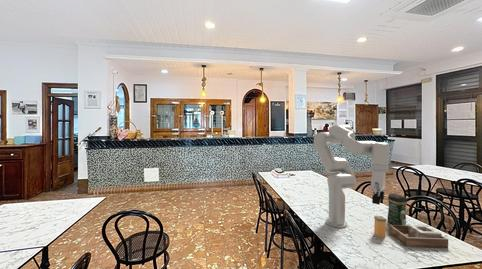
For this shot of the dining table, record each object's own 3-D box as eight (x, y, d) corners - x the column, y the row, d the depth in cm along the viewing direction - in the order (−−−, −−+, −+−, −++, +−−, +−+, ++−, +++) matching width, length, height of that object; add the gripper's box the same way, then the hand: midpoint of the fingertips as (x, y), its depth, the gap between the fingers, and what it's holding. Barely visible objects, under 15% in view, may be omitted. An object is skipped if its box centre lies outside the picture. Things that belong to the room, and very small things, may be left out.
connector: (373, 233, 132) (374, 216, 132) (381, 233, 132) (382, 216, 132) (377, 236, 128) (378, 219, 128) (386, 237, 128) (386, 219, 127)
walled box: (388, 232, 134) (388, 222, 133) (424, 233, 132) (425, 223, 132) (406, 246, 118) (407, 235, 117) (448, 248, 116) (448, 236, 116)
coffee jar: (384, 221, 149) (385, 192, 149) (394, 220, 152) (395, 191, 151) (398, 227, 140) (399, 197, 139) (408, 226, 142) (409, 196, 142)
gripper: (374, 164, 124) (373, 195, 125) (366, 168, 111) (365, 204, 112) (391, 166, 119) (389, 198, 120) (385, 171, 106) (383, 207, 107)
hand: (378, 201), depth 116 cm, fingers open, 9 cm apart
